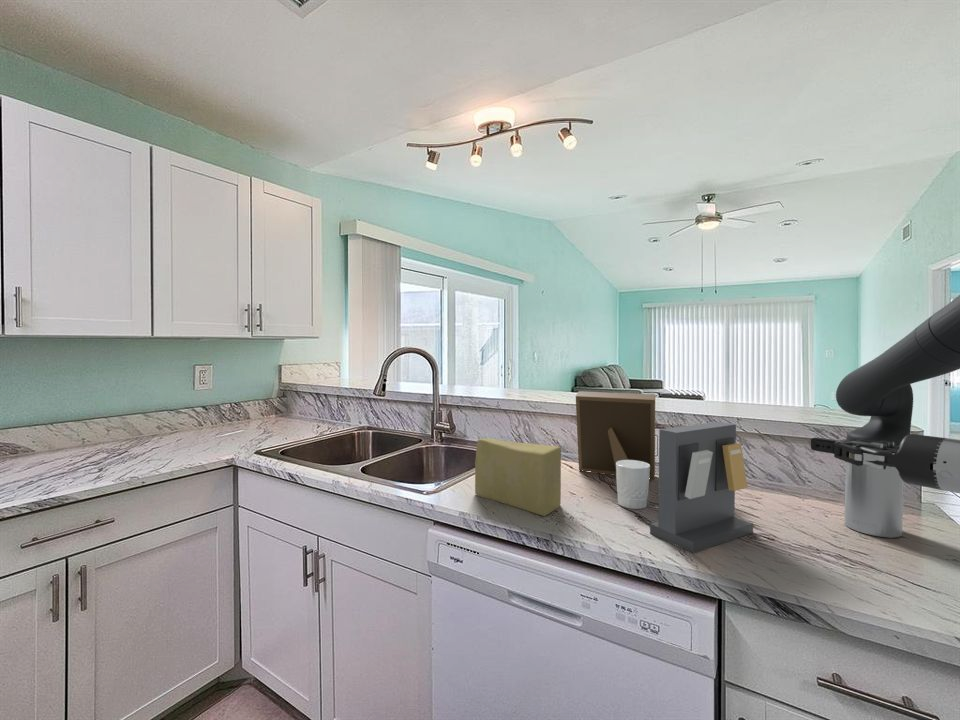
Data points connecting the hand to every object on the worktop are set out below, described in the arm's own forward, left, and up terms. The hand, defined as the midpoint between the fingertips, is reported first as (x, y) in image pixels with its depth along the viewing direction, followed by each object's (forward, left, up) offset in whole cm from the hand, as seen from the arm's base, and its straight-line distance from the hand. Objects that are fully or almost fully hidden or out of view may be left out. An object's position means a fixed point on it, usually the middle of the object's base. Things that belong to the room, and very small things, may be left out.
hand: (812, 443), depth 80 cm
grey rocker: (+11, -15, -12) cm, 22 cm away
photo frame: (-7, -55, -22) cm, 59 cm away
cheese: (+30, -52, -22) cm, 64 cm away
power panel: (+5, -18, -22) cm, 28 cm away
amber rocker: (0, -13, -12) cm, 18 cm away
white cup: (+5, -37, -22) cm, 43 cm away
